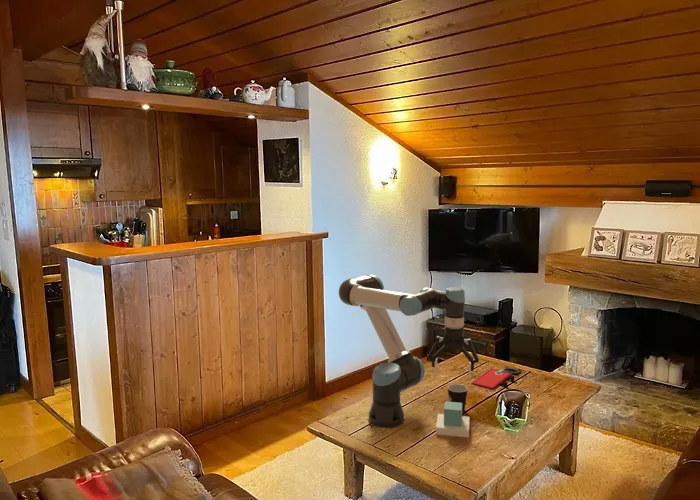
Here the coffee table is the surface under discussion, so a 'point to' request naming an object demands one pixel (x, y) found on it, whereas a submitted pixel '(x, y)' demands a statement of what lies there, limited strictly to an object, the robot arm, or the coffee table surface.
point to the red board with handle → (496, 378)
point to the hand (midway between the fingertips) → (452, 376)
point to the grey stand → (452, 427)
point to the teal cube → (453, 414)
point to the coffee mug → (458, 394)
